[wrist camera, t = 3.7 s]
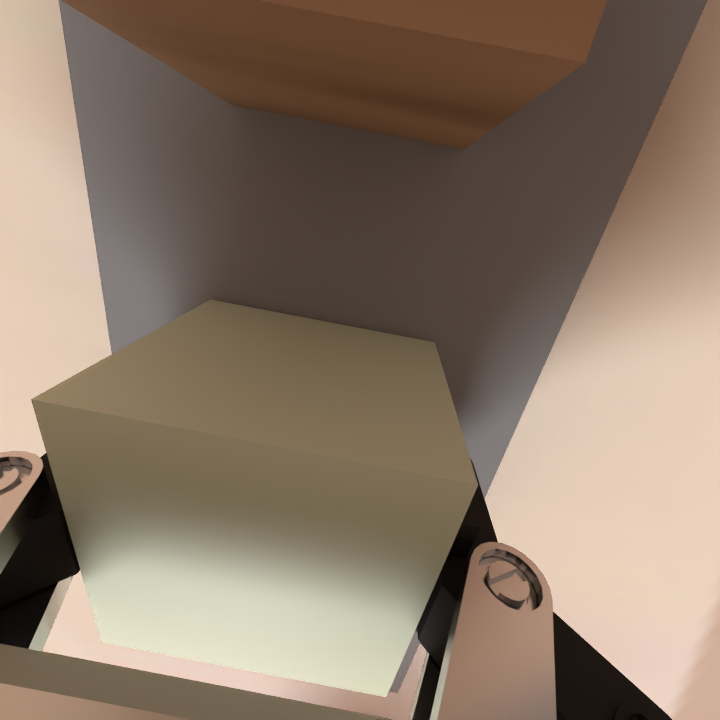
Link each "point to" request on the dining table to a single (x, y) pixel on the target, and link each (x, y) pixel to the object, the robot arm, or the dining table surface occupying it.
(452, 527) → the sage block
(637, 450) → the dining table surface
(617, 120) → the build mat
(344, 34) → the walnut cube
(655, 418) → the dining table surface
